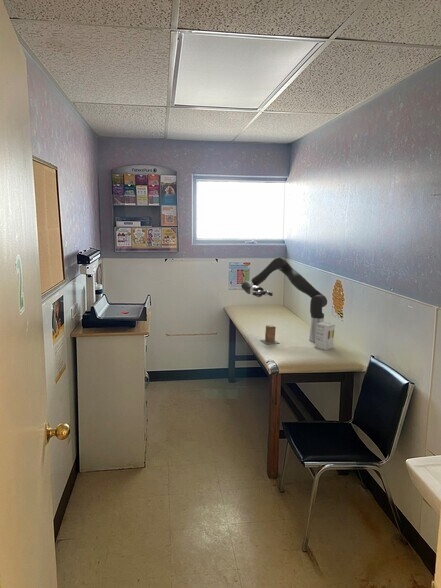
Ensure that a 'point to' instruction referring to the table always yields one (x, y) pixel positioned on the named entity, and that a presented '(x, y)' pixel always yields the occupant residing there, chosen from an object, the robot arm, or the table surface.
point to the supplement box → (324, 335)
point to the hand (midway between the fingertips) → (266, 294)
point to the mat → (270, 342)
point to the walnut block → (270, 333)
